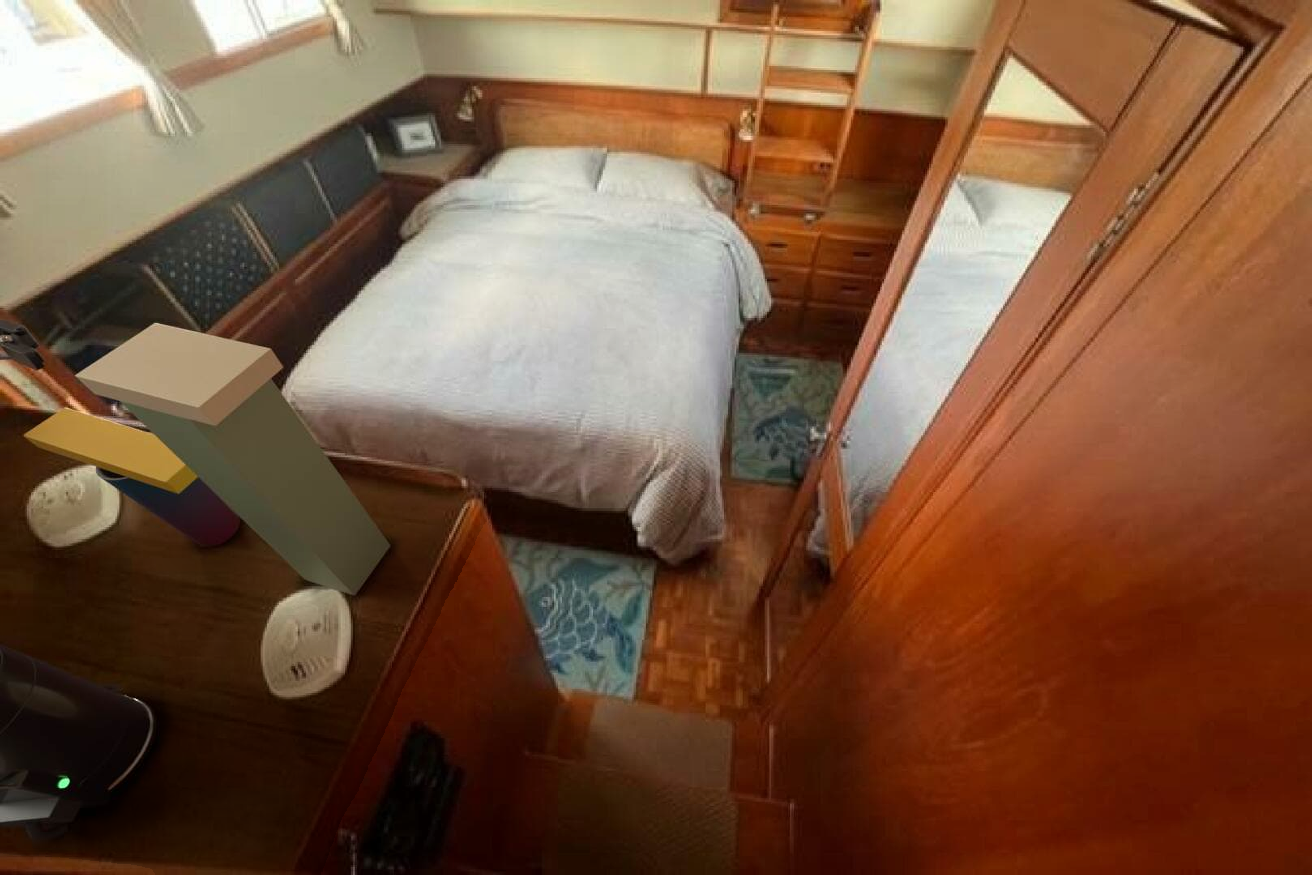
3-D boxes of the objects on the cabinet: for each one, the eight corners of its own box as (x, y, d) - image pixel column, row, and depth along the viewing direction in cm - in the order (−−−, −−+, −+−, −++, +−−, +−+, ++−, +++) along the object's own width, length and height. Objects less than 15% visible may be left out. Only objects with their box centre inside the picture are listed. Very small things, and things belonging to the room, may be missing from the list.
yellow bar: (215, 461, 57) (204, 449, 56) (178, 494, 54) (165, 482, 53) (79, 419, 61) (64, 406, 60) (38, 447, 59) (22, 435, 57)
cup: (229, 554, 67) (144, 480, 56) (175, 552, 67) (79, 479, 56) (258, 508, 71) (184, 432, 60) (207, 507, 71) (124, 431, 60)
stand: (408, 550, 67) (271, 348, 43) (373, 601, 63) (198, 407, 39) (327, 527, 69) (155, 322, 46) (288, 574, 65) (74, 375, 41)
